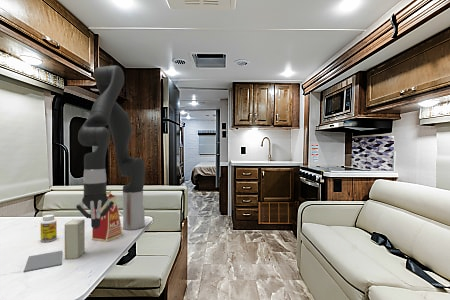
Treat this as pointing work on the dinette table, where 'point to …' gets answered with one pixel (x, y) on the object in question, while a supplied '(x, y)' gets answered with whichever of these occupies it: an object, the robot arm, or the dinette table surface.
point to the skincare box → (74, 238)
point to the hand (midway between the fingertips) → (95, 228)
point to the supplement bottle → (48, 228)
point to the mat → (43, 261)
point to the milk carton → (108, 223)
